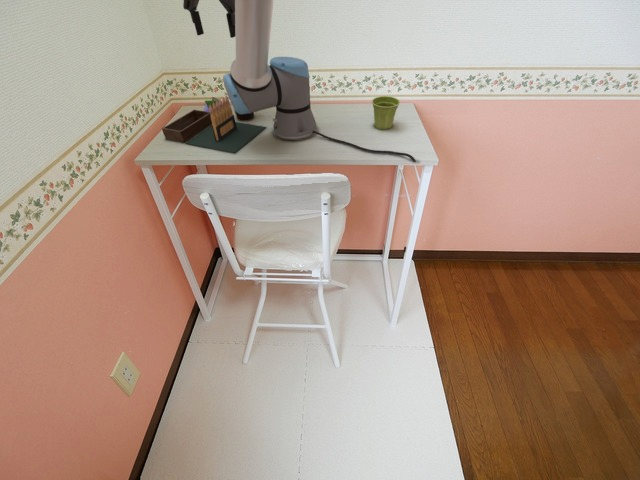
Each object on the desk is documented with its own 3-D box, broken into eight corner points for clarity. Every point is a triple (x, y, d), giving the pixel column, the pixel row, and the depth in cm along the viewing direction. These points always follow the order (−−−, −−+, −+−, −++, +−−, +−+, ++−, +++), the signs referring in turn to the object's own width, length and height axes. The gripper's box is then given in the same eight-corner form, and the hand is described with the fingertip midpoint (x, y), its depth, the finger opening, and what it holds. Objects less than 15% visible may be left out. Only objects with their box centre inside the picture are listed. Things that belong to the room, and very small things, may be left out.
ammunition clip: (219, 141, 112) (210, 106, 104) (215, 140, 113) (205, 105, 104) (237, 128, 119) (229, 94, 111) (233, 127, 120) (225, 93, 111)
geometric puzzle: (219, 115, 124) (218, 93, 123) (201, 116, 124) (200, 94, 123) (225, 120, 131) (224, 99, 130) (208, 120, 131) (207, 100, 130)
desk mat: (265, 127, 120) (265, 126, 119) (234, 153, 106) (234, 152, 106) (220, 120, 126) (220, 119, 125) (185, 144, 112) (185, 142, 112)
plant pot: (399, 122, 119) (403, 98, 113) (392, 133, 113) (395, 108, 107) (374, 118, 122) (376, 94, 116) (366, 129, 116) (368, 104, 110)
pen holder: (214, 122, 124) (211, 112, 122) (184, 143, 113) (180, 131, 110) (197, 119, 127) (193, 109, 124) (165, 139, 116) (161, 128, 113)
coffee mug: (253, 122, 123) (248, 95, 116) (231, 121, 124) (225, 94, 118) (261, 110, 132) (257, 83, 125) (241, 109, 133) (236, 83, 126)
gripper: (241, -50, 96) (254, 35, 110) (174, -48, 103) (194, 31, 118) (227, -48, 91) (242, 40, 105) (157, -46, 98) (180, 36, 113)
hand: (216, 35), depth 112 cm, fingers open, 13 cm apart
